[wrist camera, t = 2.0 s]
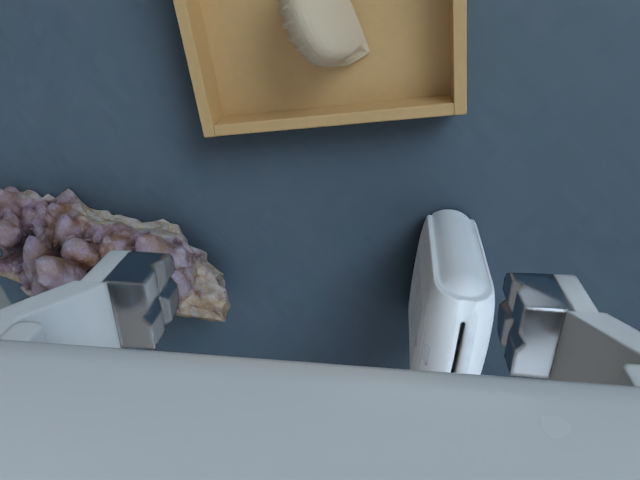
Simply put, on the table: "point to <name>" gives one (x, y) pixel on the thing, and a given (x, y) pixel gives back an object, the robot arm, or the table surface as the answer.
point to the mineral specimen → (97, 248)
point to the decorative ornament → (324, 31)
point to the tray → (327, 82)
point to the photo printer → (450, 297)
